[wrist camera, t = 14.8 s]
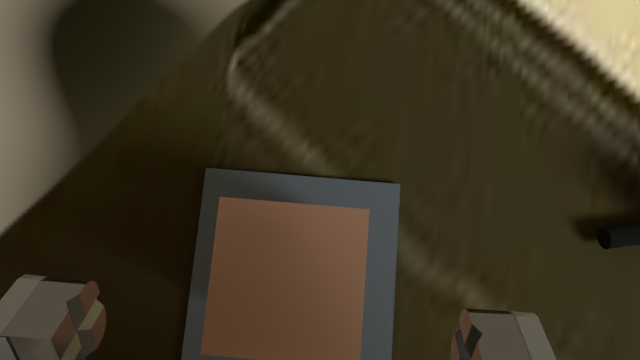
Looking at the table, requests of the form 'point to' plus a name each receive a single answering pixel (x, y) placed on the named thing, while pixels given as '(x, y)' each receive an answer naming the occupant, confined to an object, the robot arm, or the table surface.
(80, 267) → the table surface
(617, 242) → the handheld radio
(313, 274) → the brown tall block
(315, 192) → the rubber mat
